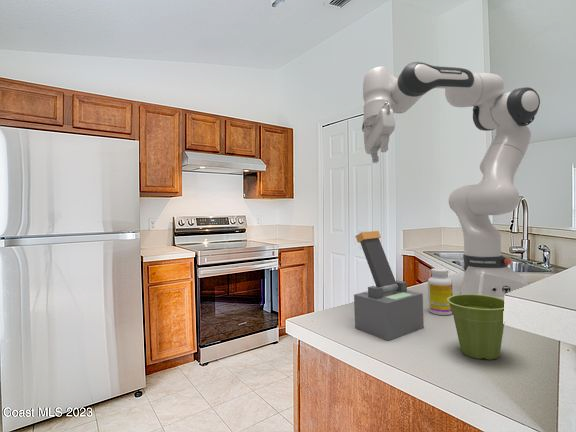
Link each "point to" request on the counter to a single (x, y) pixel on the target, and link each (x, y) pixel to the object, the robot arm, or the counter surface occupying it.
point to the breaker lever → (377, 261)
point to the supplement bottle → (439, 292)
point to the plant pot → (478, 324)
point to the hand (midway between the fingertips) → (379, 157)
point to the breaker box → (389, 311)
